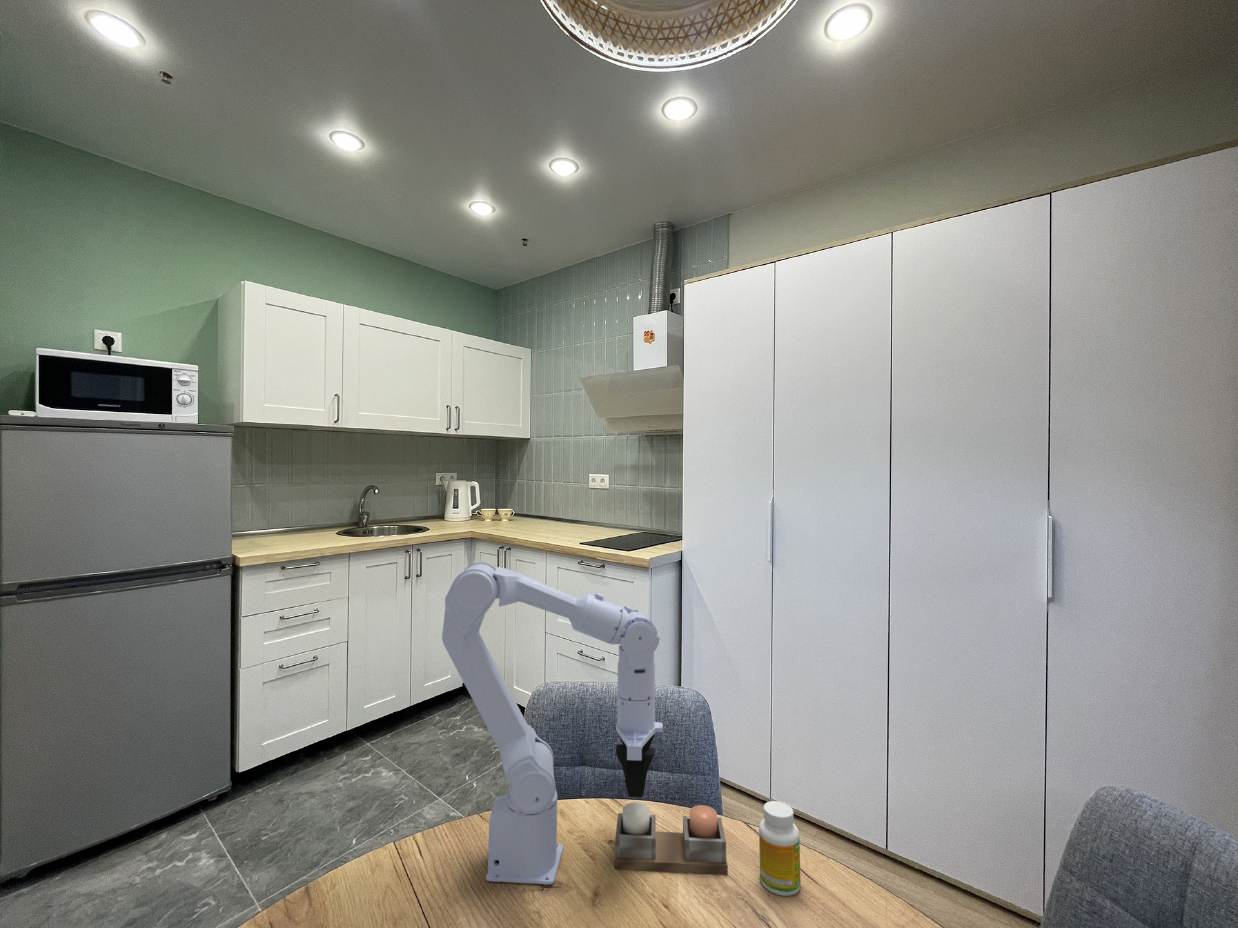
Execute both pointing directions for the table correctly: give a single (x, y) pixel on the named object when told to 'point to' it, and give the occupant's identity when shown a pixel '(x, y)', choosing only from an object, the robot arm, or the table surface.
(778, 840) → the supplement bottle
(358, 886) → the table surface
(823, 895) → the table surface
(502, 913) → the table surface
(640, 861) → the panel
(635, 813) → the white plunger
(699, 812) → the tan rounded dome
